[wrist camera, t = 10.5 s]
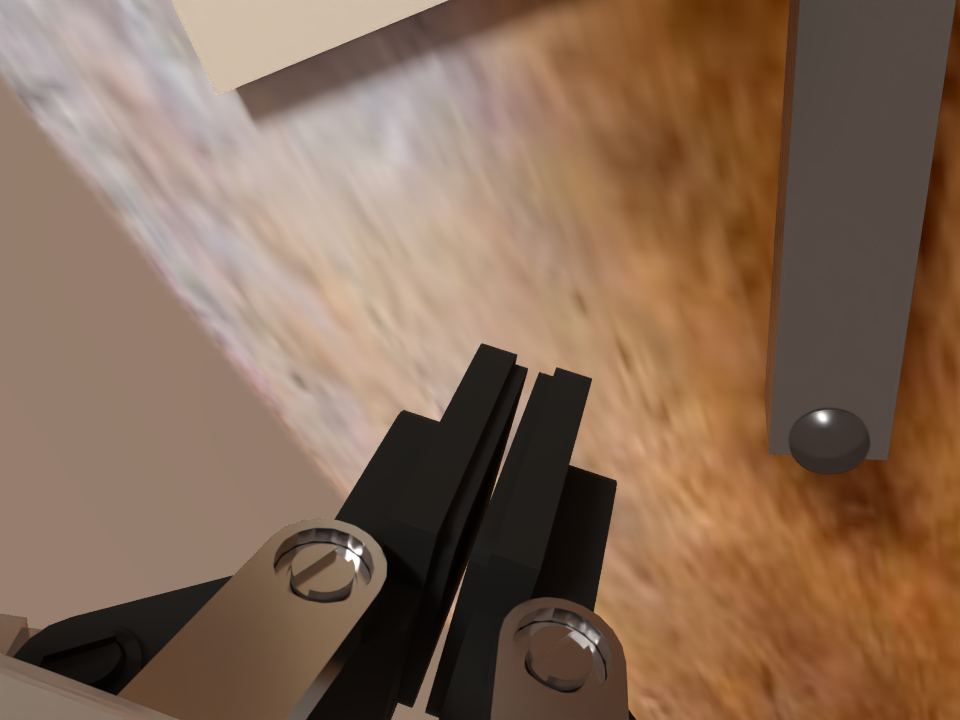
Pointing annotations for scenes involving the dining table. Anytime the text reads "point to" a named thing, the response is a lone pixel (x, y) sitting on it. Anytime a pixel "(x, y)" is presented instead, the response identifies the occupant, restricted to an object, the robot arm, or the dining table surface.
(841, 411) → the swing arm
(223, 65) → the label board
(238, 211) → the dining table surface
